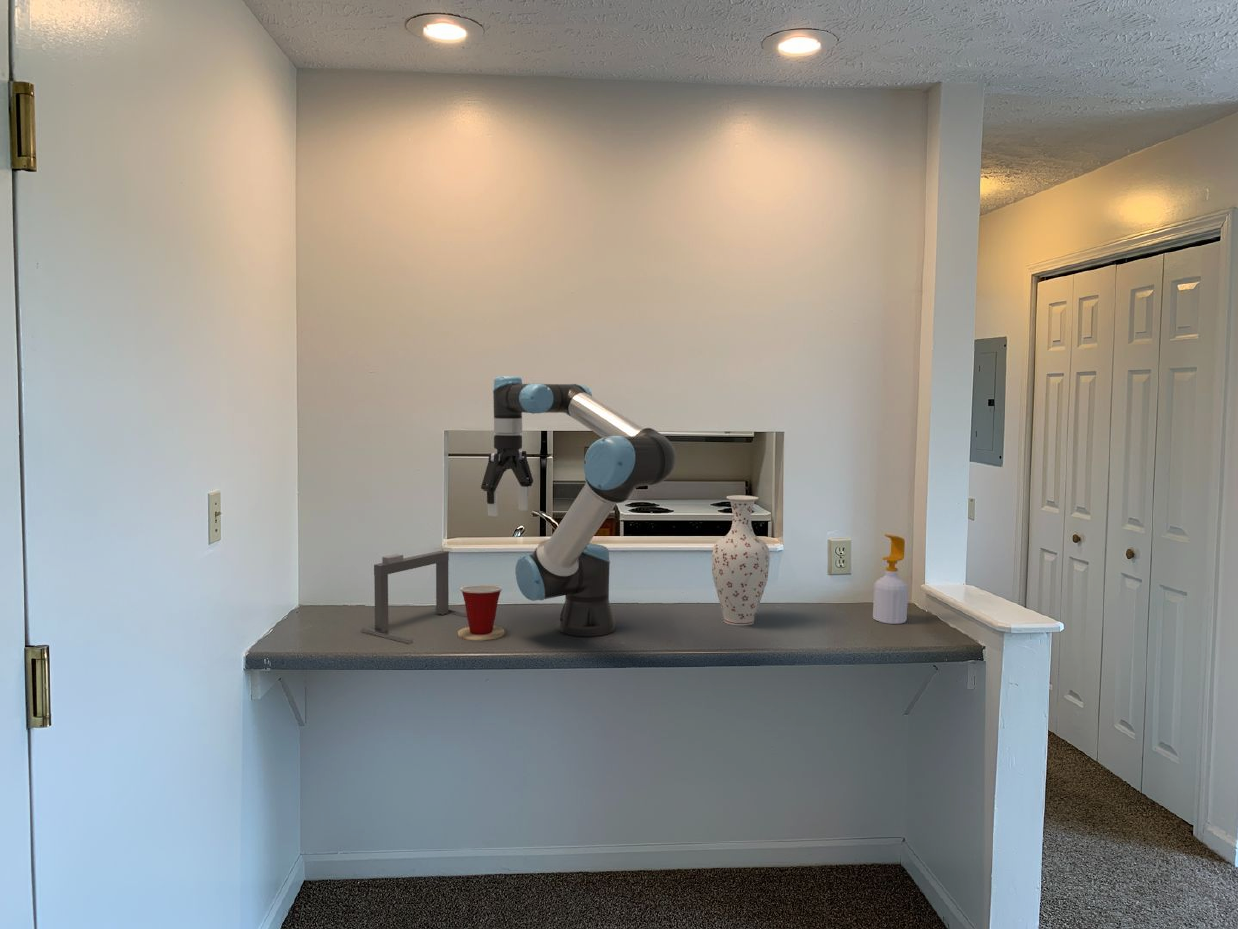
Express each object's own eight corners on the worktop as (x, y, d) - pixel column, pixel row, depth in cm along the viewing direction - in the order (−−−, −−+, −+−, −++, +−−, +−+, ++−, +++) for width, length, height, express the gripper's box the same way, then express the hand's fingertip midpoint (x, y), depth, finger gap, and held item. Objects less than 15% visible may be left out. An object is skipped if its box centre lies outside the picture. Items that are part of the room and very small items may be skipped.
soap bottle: (866, 619, 243) (870, 533, 241) (884, 614, 250) (887, 530, 247) (895, 626, 237) (899, 538, 235) (912, 620, 243) (916, 535, 241)
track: (485, 619, 238) (485, 615, 238) (409, 643, 214) (409, 640, 214) (438, 609, 247) (438, 606, 247) (361, 631, 224) (360, 628, 224)
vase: (699, 617, 243) (702, 494, 240) (748, 611, 250) (751, 492, 247) (728, 632, 229) (732, 502, 225) (779, 626, 235) (783, 499, 232)
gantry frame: (448, 612, 243) (448, 545, 241) (381, 632, 222) (380, 559, 221) (442, 611, 244) (441, 544, 242) (374, 631, 224) (373, 558, 222)
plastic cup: (504, 626, 229) (504, 582, 228) (499, 638, 218) (499, 591, 217) (464, 625, 229) (464, 581, 228) (456, 637, 218) (456, 591, 217)
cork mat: (513, 632, 226) (514, 630, 225) (482, 643, 216) (482, 641, 215) (479, 625, 232) (479, 622, 232) (448, 635, 222) (448, 633, 222)
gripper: (523, 432, 242) (523, 506, 244) (467, 435, 221) (467, 517, 222) (545, 432, 239) (545, 508, 240) (490, 436, 217) (490, 519, 219)
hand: (508, 513), depth 231 cm, fingers open, 13 cm apart
